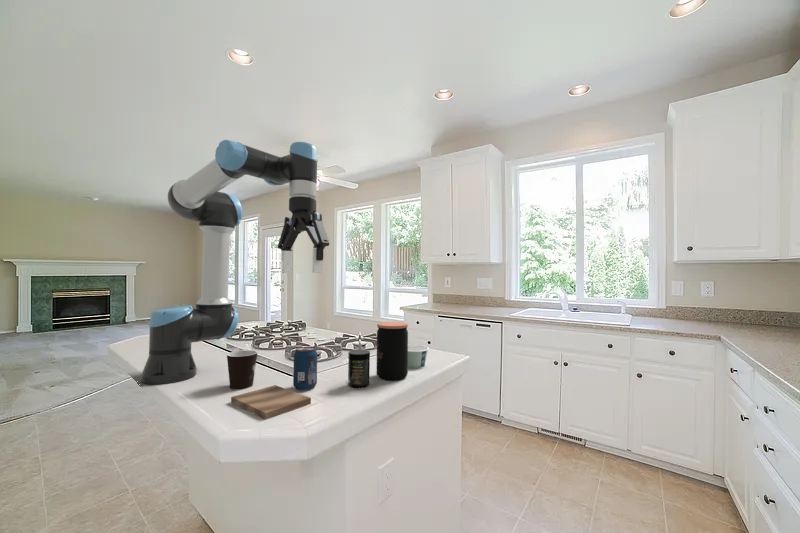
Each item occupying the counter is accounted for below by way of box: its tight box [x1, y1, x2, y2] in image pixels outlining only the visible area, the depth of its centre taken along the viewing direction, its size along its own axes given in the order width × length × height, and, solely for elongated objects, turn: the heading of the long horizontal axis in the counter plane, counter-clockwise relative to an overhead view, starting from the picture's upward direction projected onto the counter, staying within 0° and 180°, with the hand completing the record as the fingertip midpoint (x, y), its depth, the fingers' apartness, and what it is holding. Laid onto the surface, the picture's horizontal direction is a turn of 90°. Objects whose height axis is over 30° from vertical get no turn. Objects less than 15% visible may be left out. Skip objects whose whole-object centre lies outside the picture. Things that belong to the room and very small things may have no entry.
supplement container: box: [347, 349, 371, 390], centre depth 106 cm, size 7×7×10 cm
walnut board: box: [230, 384, 312, 420], centre depth 91 cm, size 17×13×2 cm
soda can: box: [292, 345, 318, 392], centre depth 104 cm, size 7×7×12 cm
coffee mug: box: [226, 349, 258, 390], centre depth 106 cm, size 12×9×10 cm
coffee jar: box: [376, 321, 409, 382], centre depth 116 cm, size 11×11×18 cm
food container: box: [408, 344, 430, 369], centre depth 133 cm, size 12×12×6 cm
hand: (301, 273), depth 96 cm, fingers open, 13 cm apart
